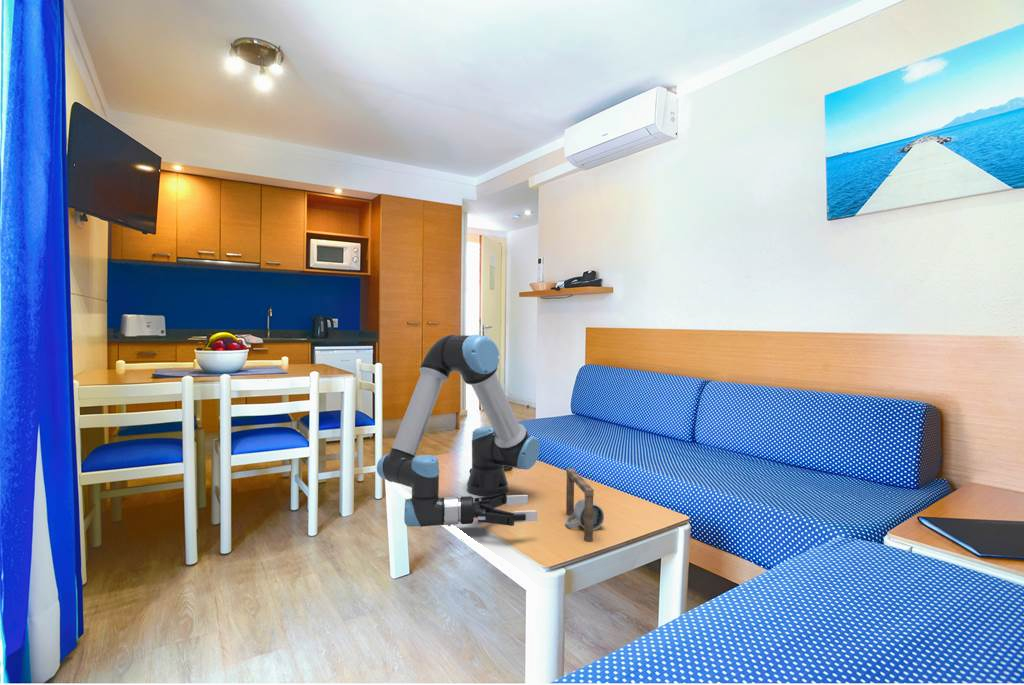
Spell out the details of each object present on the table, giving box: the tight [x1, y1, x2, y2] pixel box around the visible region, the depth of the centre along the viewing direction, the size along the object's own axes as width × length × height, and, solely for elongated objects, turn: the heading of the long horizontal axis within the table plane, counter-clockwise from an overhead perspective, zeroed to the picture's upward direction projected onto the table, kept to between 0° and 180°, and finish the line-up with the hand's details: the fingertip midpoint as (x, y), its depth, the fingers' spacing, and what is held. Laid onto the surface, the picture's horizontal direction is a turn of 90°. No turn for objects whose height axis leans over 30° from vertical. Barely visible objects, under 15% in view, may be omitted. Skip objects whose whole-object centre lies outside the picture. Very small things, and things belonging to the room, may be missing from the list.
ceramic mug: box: [564, 498, 605, 531], centre depth 147 cm, size 11×8×8 cm
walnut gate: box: [565, 467, 595, 543], centre depth 146 cm, size 22×2×14 cm, turn 8°
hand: (532, 507), depth 144 cm, fingers open, 13 cm apart
